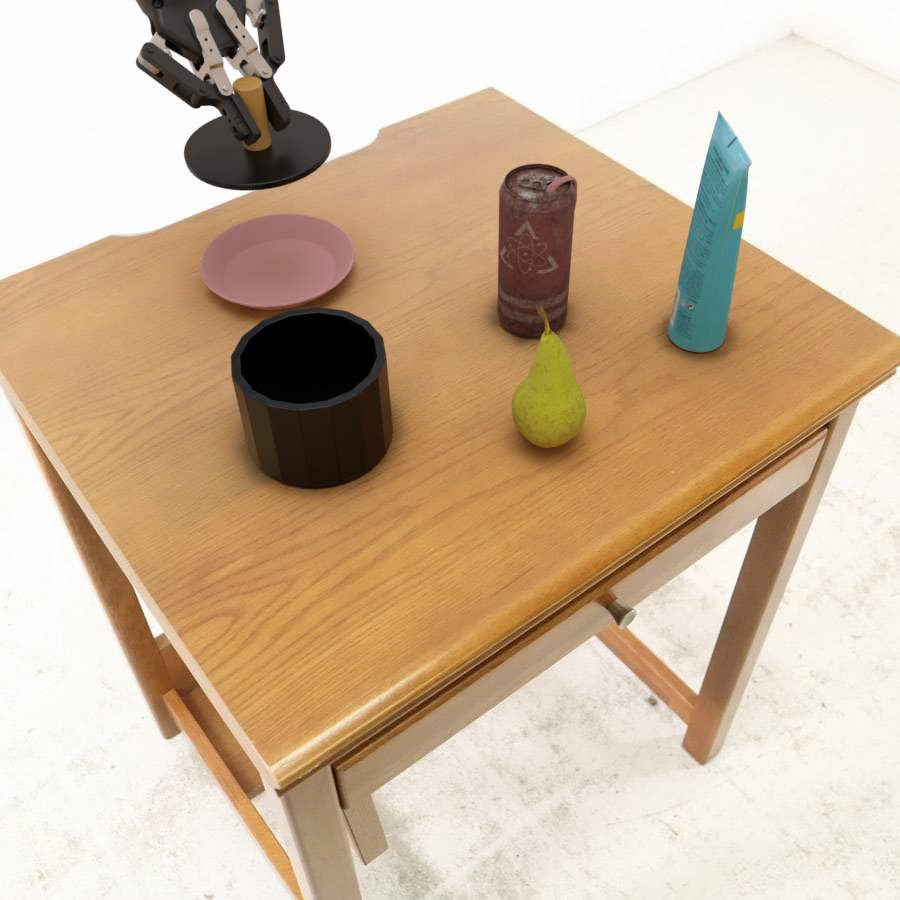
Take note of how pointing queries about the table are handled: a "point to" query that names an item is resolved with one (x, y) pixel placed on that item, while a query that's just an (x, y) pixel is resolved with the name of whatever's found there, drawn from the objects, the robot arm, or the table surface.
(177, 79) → the robot arm
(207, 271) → the plate
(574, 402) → the fruit
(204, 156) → the lid
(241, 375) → the tin
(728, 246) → the tube
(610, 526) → the table surface
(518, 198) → the can
